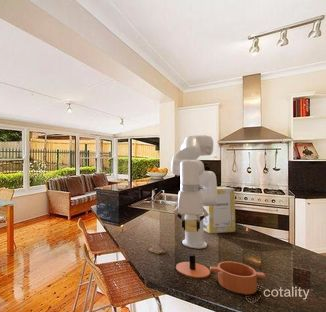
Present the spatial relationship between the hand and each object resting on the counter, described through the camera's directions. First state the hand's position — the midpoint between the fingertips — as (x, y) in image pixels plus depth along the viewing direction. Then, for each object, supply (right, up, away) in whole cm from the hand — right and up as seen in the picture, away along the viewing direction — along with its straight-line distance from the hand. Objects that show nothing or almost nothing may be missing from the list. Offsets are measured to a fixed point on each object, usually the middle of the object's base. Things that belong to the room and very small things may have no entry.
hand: (190, 229), depth 102 cm
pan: (+12, -17, -14) cm, 25 cm away
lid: (0, -17, -2) cm, 17 cm away
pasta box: (+40, -17, +53) cm, 68 cm away
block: (0, 0, 0) cm, 0 cm away
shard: (-10, -18, +21) cm, 29 cm away
